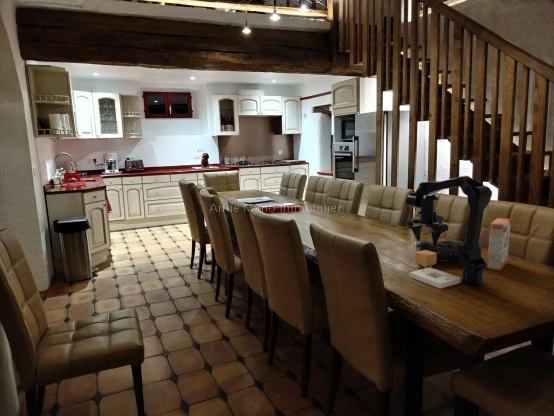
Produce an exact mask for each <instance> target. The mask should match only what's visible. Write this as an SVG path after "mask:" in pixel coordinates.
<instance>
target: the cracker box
mask: <svg viewBox="0 0 554 416" xmlns="http://www.w3.org/2000/svg"><path fill="white" fill-rule="evenodd" d="M511 222H512V220H511V219H510V218H501V217H500V218H499V217H498V218H496V219H494V220H493V221H492V222H491V223H490V224H489V225H490V226H489V240H488V251H487V263H486V264H487V265H486V268H487V269H488V270H489V269H491V270H495V271H502V270H503V269H504V267H505V266H506V265H507V263H508V260H509V259H508V257H509V256H508V255H509V247H510V245H509V244H510V235H511V234H510V231H511V224H512V223H511Z"/></svg>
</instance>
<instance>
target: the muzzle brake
mask: <svg viewBox="0 0 554 416" xmlns="http://www.w3.org/2000/svg"><path fill="white" fill-rule="evenodd" d="M464 243H465V240H463V241H462V240H459V241H458V240H452V241H451V240H445V241H444V240H438V241H437V244H436V245H435V246H434V245H433V240H431V241H429V240H427V239H426V240H421V239H420V241H414V242H413V246H412V247H413V250H412V251H413V257H414V259H415V252H419V251H423V250H427V251H431V252H434V253H437V260H436V261H447V262H457V263H460V262H459V260H458V255H457V253H458V246H459V245H463V244H464ZM479 247H480V248H481V246H480V245H479Z"/></svg>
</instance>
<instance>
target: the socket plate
mask: <svg viewBox="0 0 554 416" xmlns="http://www.w3.org/2000/svg"><path fill="white" fill-rule="evenodd" d="M409 278H412V279H415V280H417V281H420V282H422V283H425V284H427V285H430V286H432V287H435V288H437V289H444V288H447V287H450V286H455V285H458V284H460V283H461V281H462V277H460V276H458V275H454V274H451V273H448V272H445V271H441V270H439V269H437V268H433V267H432V268H430V267H429V266H428V267H427V268H425V269H424V268H422V269H418V270H414V271H409Z"/></svg>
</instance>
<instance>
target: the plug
mask: <svg viewBox="0 0 554 416" xmlns="http://www.w3.org/2000/svg"><path fill="white" fill-rule="evenodd" d="M414 259H415V261H414V262H415V263H416V264H418V265H421V267H423V269H425V268H429V267H430V268H433V265H436V264H437V261H438V260H437V253H434V252H431V251H427V250H423V251H419V252H415V258H414Z"/></svg>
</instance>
